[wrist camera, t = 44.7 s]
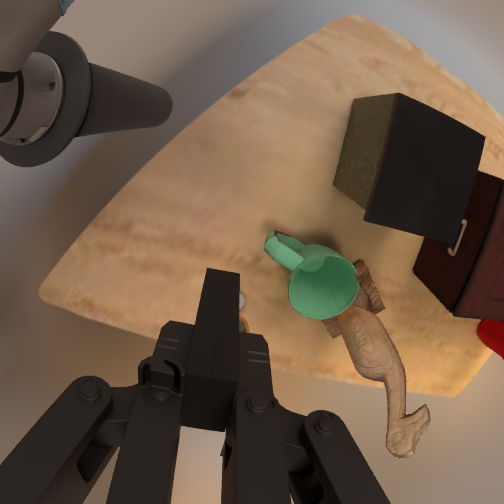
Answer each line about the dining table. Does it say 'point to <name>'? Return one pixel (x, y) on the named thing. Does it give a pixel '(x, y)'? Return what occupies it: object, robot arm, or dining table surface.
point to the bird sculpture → (379, 363)
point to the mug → (314, 276)
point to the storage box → (470, 257)
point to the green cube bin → (363, 146)
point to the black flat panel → (424, 172)
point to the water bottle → (492, 335)
